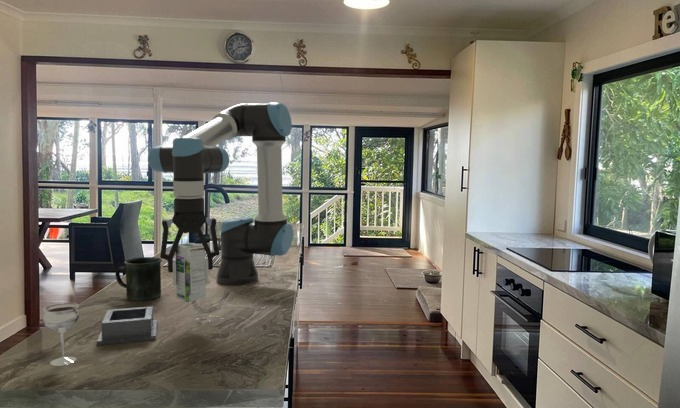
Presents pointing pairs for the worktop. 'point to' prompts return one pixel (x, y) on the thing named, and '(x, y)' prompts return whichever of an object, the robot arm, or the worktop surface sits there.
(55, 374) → the worktop surface
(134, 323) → the socket block
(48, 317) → the wineglass
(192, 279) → the syrup box
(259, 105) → the robot arm
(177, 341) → the worktop surface
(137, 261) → the mug
